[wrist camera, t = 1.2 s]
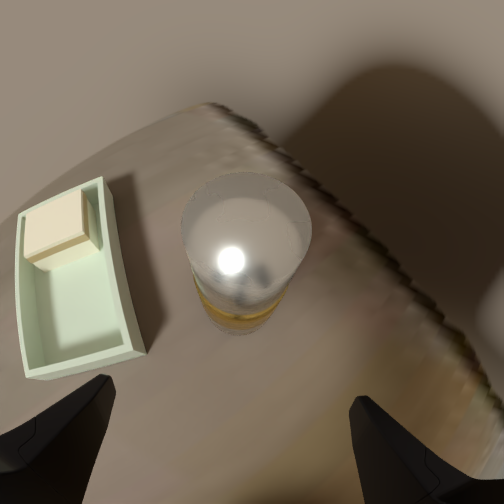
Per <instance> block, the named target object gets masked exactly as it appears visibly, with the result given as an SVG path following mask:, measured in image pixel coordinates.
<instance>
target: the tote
mask: <svg viewBox="0 0 504 504" xmlns="http://www.w3.org/2000/svg"><path fill="white" fill-rule="evenodd" d="M79 189H81V190H82V191H84V193H85V195H86V196H87V199H88V201H89V202H90V204H91V205H92V207H93V208H94V210H95V212H96V223H97V233H98V241H99V249H100V252H97V253H95V254H92V255H89V256H87V257H84V258H81V259H79V260H76V261H74V262H71V263H68V264H66V265H63V266H61V267H58V268H56V269H53V270H51V271H48V272H46V273H44V272H43V271H42V270H40V269H39V268H38V267H36V266H35V265H34V264H33V263H32V264H31V263H30V262H29V261H28V260H26V258H25V257H24V235H25V221H26V214H27V213H29V212H31V211H33V210H35V209H37V208H39V207H41V206H43V205H45V204H47V203H49V202H51V201H54V200H56V199H58V198H60V197H62V196H65V195H67V194H69V193H72V192H74V191H76V190H79ZM15 296H16V312H17V323H18V332H19V340H20V347H21V354H22V359H23V365H24V370H25V375H26V378H31V379H39V380H52V379H56V378H61V377H65V376H69V375H74V374H78V373H82V372H86V371H90V370H94V369H97V368H101V367H105V366H109V365H112V364H116V363H120V362H123V361H127V360H130V359H134V358H137V357H140V356H144V355H147V353H146V350H145V347H144V343H143V340H142V337H141V333H140V330H139V326H138V323H137V319H136V315H135V311H134V307H133V304H132V299H131V295H130V291H129V287H128V282H127V278H126V273H125V268H124V263H123V258H122V253H121V248H120V242H119V236H118V230H117V223H116V216H115V209H114V201H113V196H112V194H111V192H110V190H109V188H108V186H107V184H106V182H105V180H104V178H103V176H101V177H99V178H96V179H94V180H91V181H89V182H86V183H84V184H81V185H79V186H77V187H74V188H72V189H70V190H67V191H65V192H63V193H61V194H58V195H56V196H54V197H52V198H50V199H48V200H46V201H43V202H41V203H39V204H37V205H35V206H33V207H31V208H29V209H27V210H25V211H23V212H22V213H20V214H18V224H17V235H16V251H15Z"/></svg>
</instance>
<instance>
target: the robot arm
mask: <svg viewBox="0 0 504 504" xmlns="http://www.w3.org/2000/svg"><path fill="white" fill-rule="evenodd" d="M115 396H116V390H115V386H114V383H113V380H112V377H111V376H109V375H106V374H99V375H98V376H96V377H95V378H93V379H92V380H90V381H89V382H87V383H85V384H84V385H82V386H81V387H79V388H78V389H76V390H75V391H73V392H72V393H70V394H69V395H67V396H66V397H64V398H63V399H61V400H60V401H58V402H57V403H55V404H54V405H52V406H50V407H49V408H47V409H46V410H44V411H43V412H41V413H40V414H38V415H37V416H36V417H33V418H32V419H30V420H29V421H27V422H25V423H24V424H22V425H20V426H18V427H16V428H15V429H13V430H11V431H9V432H6V433H4V434H2V435H0V504H82V501H83V498H84V495H85V492H86V488H87V485H88V482H89V479H90V476H91V473H92V470H93V467H94V464H95V461H96V458H97V455H98V452H99V450H100V447H101V444H102V441H103V439H104V436H105V433H106V430H107V427H108V424H109V419H110V415H111V411H112V407H113V404H114V400H115ZM349 419H350V427H351V436H352V445H353V451H354V455H355V459H356V464H357V468H358V473H359V477H360V482H361V487H362V492H363V497H364V502H365V504H504V479H492V480H479V479H474V478H471V477H469V476H467V475H466V474H464V473H463V472H461V471H459V470H458V469H456V468H455V467H453V466H451V465H450V464H448V463H447V462H445V461H444V460H443V459H441V458H440V457H438V456H437V455H436V454H435V453H433V452H432V451H431V450H430V449H429V448H427V447H426V446H425V445H424V444H423V443H421V442H420V441H419V440H418V439H417V438H415V437H414V436H413V435H412V434H411V433H410V432H408V431H407V430H406V429H405V428H404V427H403V426H401V425H400V424H399V423H398V422H397V421H396V420H395V419H393V418H392V417H391V416H390V415H389V414H388V413H387V412H385V411H384V410H383V409H382V408H381V407H380V406H379V405H377V404H376V403H375V402H374V401H373V400H372V399H371V398H370V397H368V396H366V395H364V396H357V397H356V398H355V400H354V402H353V404H352V406H351V408H350V410H349Z"/></svg>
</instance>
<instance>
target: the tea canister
mask: <svg viewBox="0 0 504 504" xmlns="http://www.w3.org/2000/svg"><path fill="white" fill-rule="evenodd" d="M181 234H182V238H183V242H184V246H185V249H186V252H187V255H188V258H189V262H190V265H191V268H192V271H193V277H194V282H195V285H196V288H197V291H198V294H199V296H200V299H201V302H202V304H203V307H204V309H205V311H206V312H207V314H208V317H209V319H210V320H211V322H212V323H213V324H214V325H215V326H216V327H217V328H218V329H219V330H221V331H223V332H225V333H227V334H231V335H247V334H250V333H252V332H255V331H256V330H258V329H259V328H260V327H262V325H263V324H264V323H265V322H266V320H267V319H268V318H269V317H270V316H271V314H272V313H273V312H274V310H275V308H276V307H277V305H278V304H279V302H280V300H281V299H282V297H283V296H284V294H285V292H286V290H287V288H288V285H289V282H290V280H291V279H292V277H293V275H294V274H295V272H296V270H297V268H298V267H299V265H300V263H301V262H302V260H303V258H304V256H305V254H306V252H307V250H308V248H309V245H310V242H311V235H312V225H311V219H310V216H309V213H308V210H307V208H306V206H305V204H304V203H303V201H302V200H301V198H300V197H299V196H298V195H297V194H296V193H295V192H294V191H293V190H292V189H291V188H290V187H288V186H287V185H286V184H284V183H282V182H281V181H279V180H277V179H275V178H272V177H270V176H266V175H263V174H258V173H251V172H238V173H230V174H226V175H222V176H219V177H217V178H215V179H212V180H211V181H209V182H207V183H205V184H204V185H203V186H201V187H200V188H199V189H198V190H197V191H196V192H195V193H194V194H193V195H192V197H191V198H190V199H189V201H188V203H187V204H186V207H185V209H184V211H183V215H182V220H181Z"/></svg>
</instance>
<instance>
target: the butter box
mask: <svg viewBox="0 0 504 504" xmlns="http://www.w3.org/2000/svg"><path fill="white" fill-rule="evenodd" d="M97 252H100V249H99V241H98V233H97V223H96V212H95V210H94V208H93V207H92V205H91V204H90V202H89V201H88V199H87V196H86V195H85V193H84V191H82V190H81V189H79V190H76V191H74V192H72V193H69V194H67V195H65V196H62V197H60V198H58V199H56V200H54V201H51V202H49V203H47V204H45V205H43V206H41V207H39V208H37V209H35V210H33V211H31V212H29V213H27V214H26V221H25V235H24V257H25V258H26V260H28V261H29V262H30V263H31V264H32V263H33V264H34V265H35V266H36V267H38V268H39V269H40V270H42V271H43V272H44V273H46V272H48V271H51V270H53V269H56V268H58V267H61V266H63V265H66V264H68V263H71V262H74V261H76V260H79V259H81V258H84V257H87V256H89V255H92V254H95V253H97Z"/></svg>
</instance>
